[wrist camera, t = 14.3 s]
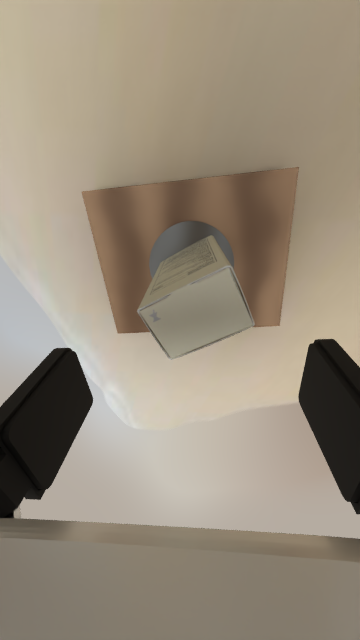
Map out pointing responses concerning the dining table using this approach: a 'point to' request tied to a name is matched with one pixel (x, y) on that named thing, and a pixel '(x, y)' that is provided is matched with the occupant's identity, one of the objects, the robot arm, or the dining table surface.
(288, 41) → the dining table surface
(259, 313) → the walnut stand
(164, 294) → the skincare box
